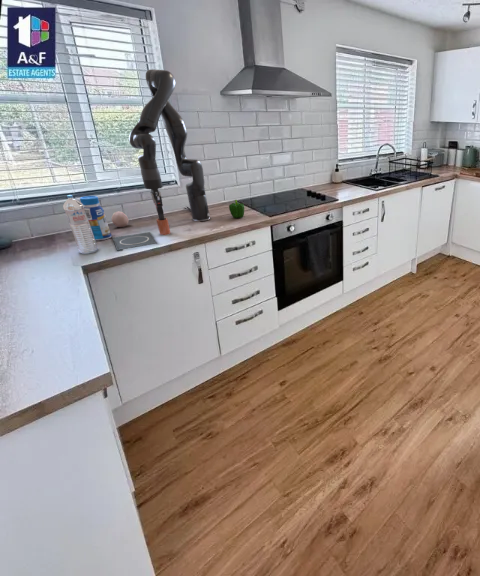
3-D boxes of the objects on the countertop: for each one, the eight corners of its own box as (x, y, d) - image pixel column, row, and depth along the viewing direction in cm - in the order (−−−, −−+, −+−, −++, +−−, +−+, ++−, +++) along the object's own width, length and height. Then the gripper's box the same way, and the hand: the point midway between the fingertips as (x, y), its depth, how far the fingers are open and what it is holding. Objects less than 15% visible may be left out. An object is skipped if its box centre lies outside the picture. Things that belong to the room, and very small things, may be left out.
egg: (133, 225, 200) (128, 209, 196) (125, 229, 193) (120, 213, 190) (119, 224, 199) (114, 209, 196) (111, 228, 193) (106, 213, 189)
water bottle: (78, 255, 160) (57, 197, 149) (81, 250, 166) (61, 194, 155) (97, 253, 163) (78, 196, 152) (99, 248, 169) (81, 193, 157)
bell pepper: (242, 219, 215) (240, 202, 211) (228, 218, 215) (226, 201, 211) (247, 215, 223) (245, 198, 218) (234, 214, 223) (231, 198, 218)
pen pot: (159, 233, 188) (155, 218, 185) (169, 232, 191) (166, 217, 188) (161, 236, 185) (157, 221, 182) (171, 234, 188) (168, 219, 184)
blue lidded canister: (89, 237, 180) (75, 196, 171) (109, 234, 186) (97, 194, 177) (93, 242, 175) (79, 200, 166) (114, 238, 181) (101, 197, 172)
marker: (161, 228, 187) (154, 203, 181) (166, 227, 189) (160, 202, 183) (162, 229, 186) (155, 204, 180) (167, 229, 187) (161, 203, 181)
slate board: (112, 238, 180) (112, 237, 180) (150, 233, 189) (149, 231, 189) (117, 251, 166) (117, 249, 166) (157, 244, 175) (157, 242, 175)
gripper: (163, 179, 173) (171, 215, 181) (157, 174, 182) (166, 209, 190) (145, 181, 169) (154, 218, 177) (140, 176, 178) (149, 211, 186)
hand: (160, 213), depth 183 cm, fingers closed on marker, 2 cm apart
